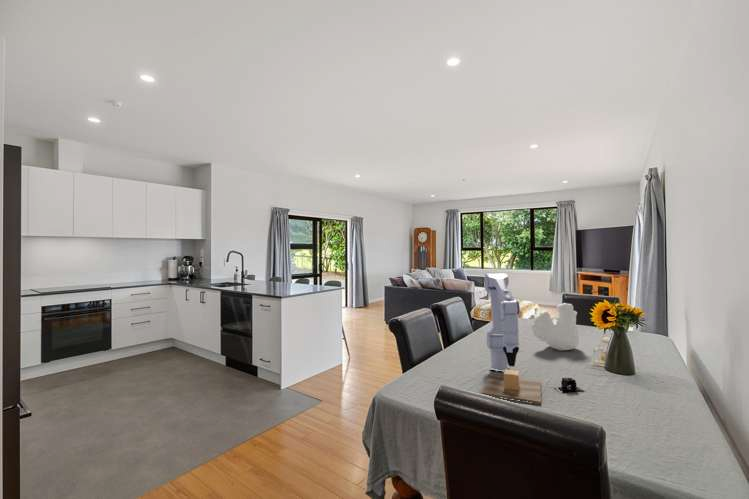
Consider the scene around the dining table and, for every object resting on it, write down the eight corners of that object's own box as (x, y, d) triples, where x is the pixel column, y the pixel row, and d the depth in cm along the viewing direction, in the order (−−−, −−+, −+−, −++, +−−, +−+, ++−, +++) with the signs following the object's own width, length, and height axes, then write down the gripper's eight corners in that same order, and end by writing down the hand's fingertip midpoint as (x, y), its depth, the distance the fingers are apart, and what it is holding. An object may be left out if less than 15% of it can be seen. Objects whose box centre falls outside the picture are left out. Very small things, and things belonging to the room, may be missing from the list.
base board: (489, 377, 144) (489, 374, 144) (540, 384, 135) (540, 381, 135) (482, 395, 126) (482, 392, 126) (541, 405, 117) (540, 401, 117)
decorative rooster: (572, 344, 188) (571, 300, 188) (586, 353, 173) (584, 305, 173) (526, 344, 192) (524, 301, 192) (535, 352, 176) (533, 305, 177)
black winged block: (560, 396, 125) (559, 383, 125) (548, 388, 132) (547, 376, 132) (590, 393, 127) (590, 381, 127) (577, 386, 134) (576, 374, 134)
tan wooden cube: (505, 383, 134) (504, 369, 134) (519, 385, 132) (518, 371, 132) (504, 388, 130) (503, 373, 130) (518, 390, 127) (518, 375, 127)
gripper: (501, 326, 139) (502, 359, 139) (497, 334, 126) (498, 370, 126) (519, 327, 136) (521, 361, 136) (517, 336, 123) (519, 373, 123)
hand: (511, 365), depth 131 cm, fingers closed
